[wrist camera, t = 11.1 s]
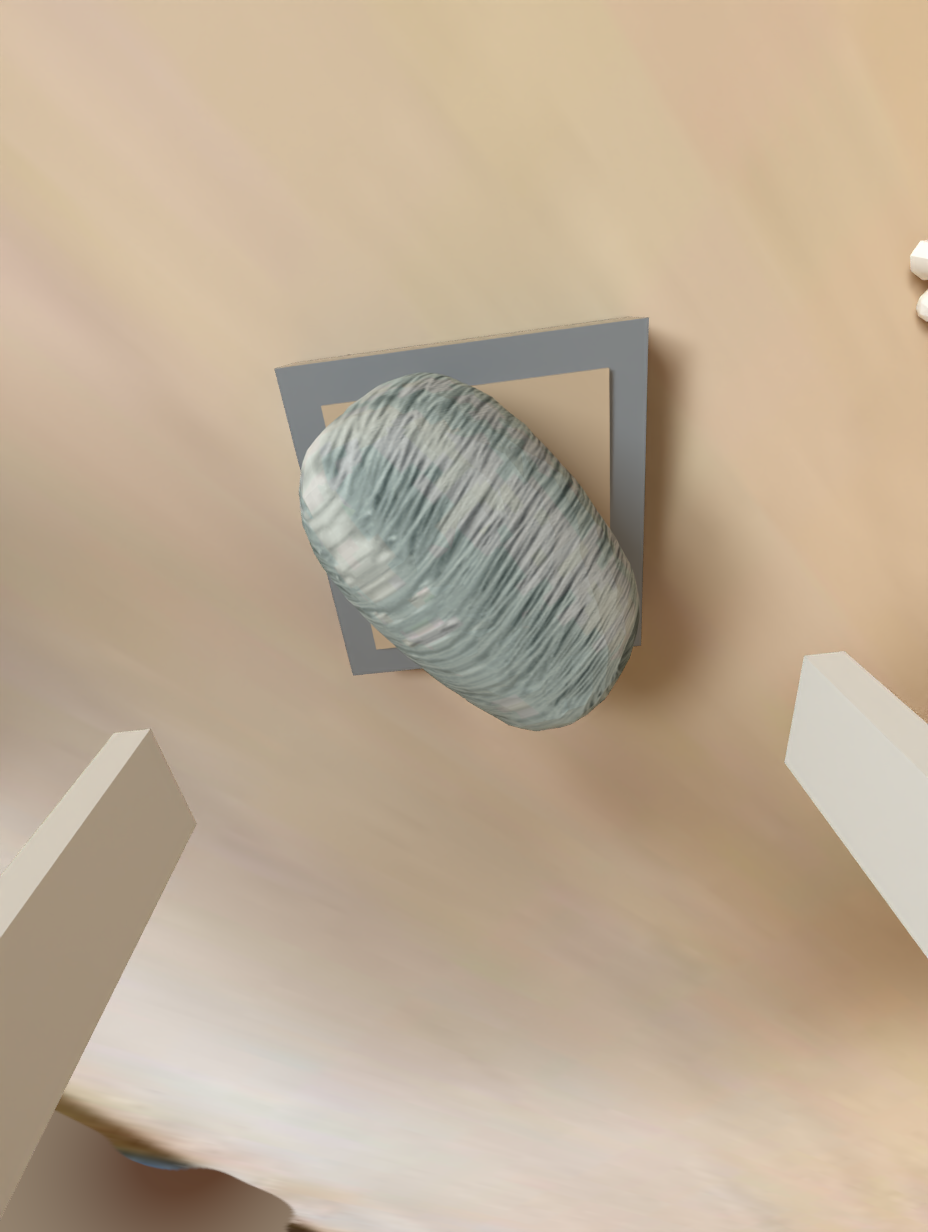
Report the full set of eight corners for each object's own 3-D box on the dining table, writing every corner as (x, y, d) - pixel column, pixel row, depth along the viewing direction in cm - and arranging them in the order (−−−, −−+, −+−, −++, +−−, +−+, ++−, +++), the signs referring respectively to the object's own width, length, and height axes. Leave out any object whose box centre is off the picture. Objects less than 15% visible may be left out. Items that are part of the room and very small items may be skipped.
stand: (362, 644, 31) (352, 678, 28) (295, 362, 24) (272, 369, 21) (625, 616, 30) (642, 648, 27) (628, 316, 24) (651, 317, 21)
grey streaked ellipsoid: (723, 604, 22) (653, 781, 15) (539, 667, 29) (430, 812, 22) (533, 285, 20) (348, 318, 13) (381, 431, 27) (202, 506, 20)
